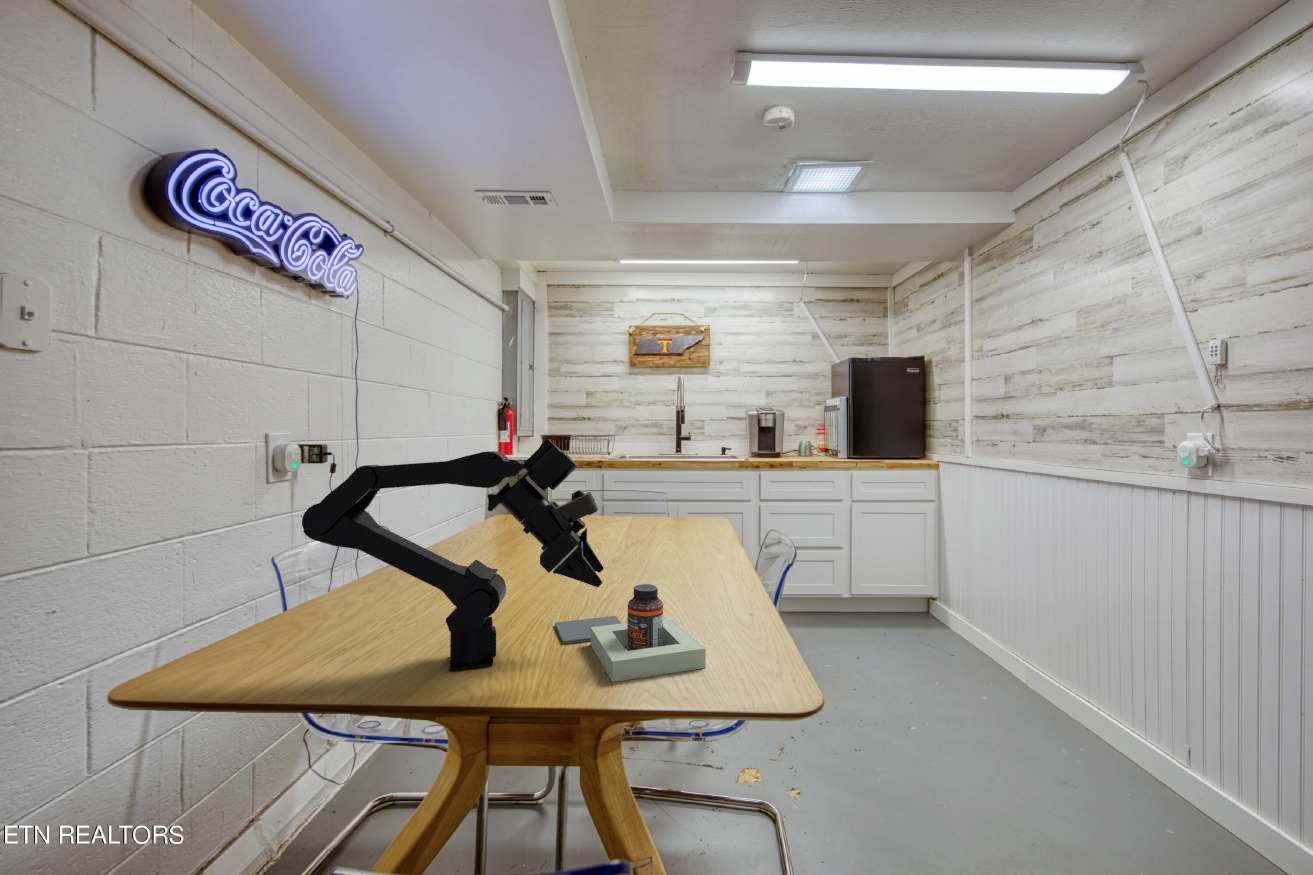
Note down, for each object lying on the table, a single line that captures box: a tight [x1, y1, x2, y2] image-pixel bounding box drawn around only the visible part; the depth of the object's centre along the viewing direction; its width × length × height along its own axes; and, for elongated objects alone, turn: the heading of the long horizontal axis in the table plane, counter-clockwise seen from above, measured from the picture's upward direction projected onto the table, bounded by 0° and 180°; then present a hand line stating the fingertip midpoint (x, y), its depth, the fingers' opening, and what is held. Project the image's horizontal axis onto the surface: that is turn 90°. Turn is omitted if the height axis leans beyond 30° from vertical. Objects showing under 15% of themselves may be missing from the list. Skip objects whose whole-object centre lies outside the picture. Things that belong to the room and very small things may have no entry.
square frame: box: [590, 617, 707, 683], centre depth 84 cm, size 15×15×3 cm
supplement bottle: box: [626, 583, 664, 651], centre depth 84 cm, size 6×6×11 cm
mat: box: [554, 615, 623, 646], centre depth 95 cm, size 12×10×1 cm
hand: (601, 577), depth 84 cm, fingers open, 9 cm apart
